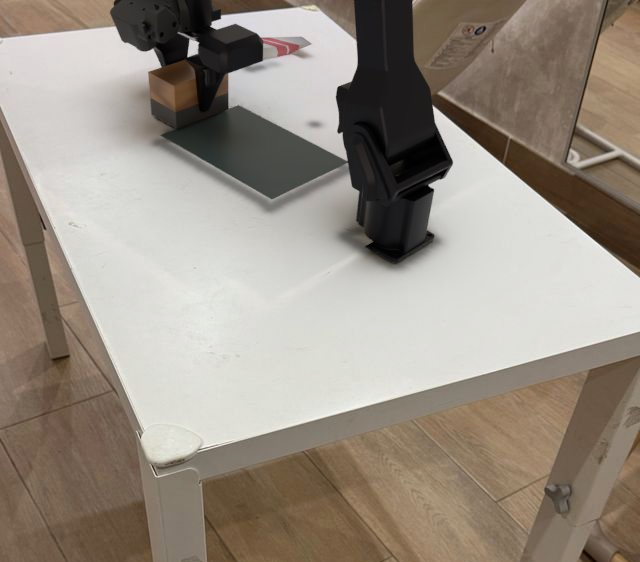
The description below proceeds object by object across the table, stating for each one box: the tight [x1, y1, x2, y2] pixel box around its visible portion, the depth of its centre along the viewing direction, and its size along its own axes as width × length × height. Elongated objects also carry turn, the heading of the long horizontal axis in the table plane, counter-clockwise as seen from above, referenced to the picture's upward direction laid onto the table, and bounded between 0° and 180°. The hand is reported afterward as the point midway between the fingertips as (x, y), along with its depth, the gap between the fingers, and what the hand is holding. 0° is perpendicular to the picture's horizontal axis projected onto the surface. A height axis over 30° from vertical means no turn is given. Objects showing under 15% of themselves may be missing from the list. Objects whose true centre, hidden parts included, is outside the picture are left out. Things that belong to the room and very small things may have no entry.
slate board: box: [160, 104, 348, 200], centre depth 91 cm, size 18×12×1 cm, turn 47°
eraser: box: [147, 60, 230, 130], centre depth 94 cm, size 4×8×5 cm, turn 137°
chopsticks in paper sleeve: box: [261, 36, 313, 61], centre depth 108 cm, size 4×3×20 cm
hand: (190, 103), depth 95 cm, fingers closed on eraser, 4 cm apart
